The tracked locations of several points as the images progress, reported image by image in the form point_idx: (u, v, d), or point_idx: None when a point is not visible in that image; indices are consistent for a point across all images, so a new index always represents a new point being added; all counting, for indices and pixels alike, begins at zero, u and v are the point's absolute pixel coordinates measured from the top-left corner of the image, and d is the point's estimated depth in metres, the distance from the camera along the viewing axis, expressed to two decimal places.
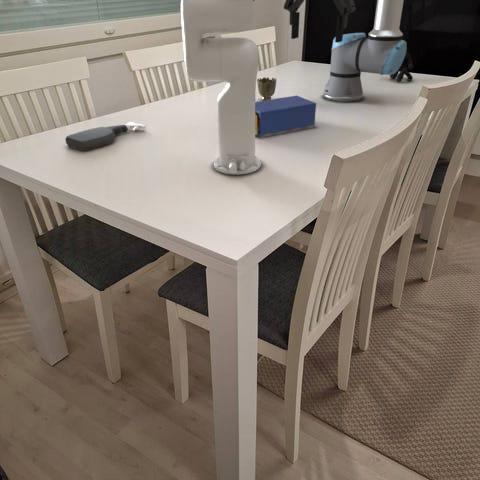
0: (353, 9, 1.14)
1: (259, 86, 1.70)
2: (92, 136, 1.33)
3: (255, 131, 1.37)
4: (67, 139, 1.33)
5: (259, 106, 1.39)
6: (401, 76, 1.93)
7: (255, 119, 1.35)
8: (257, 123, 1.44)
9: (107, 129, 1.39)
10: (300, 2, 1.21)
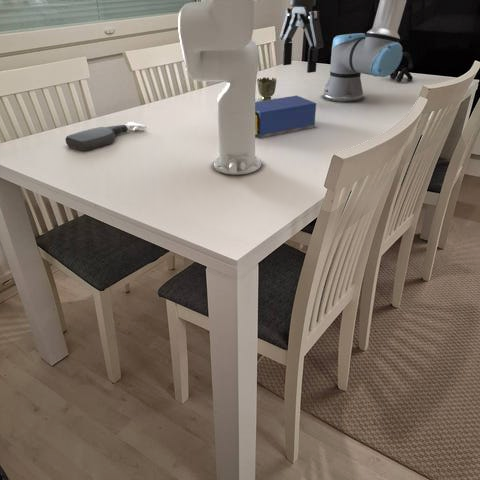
0: None
1: (259, 86, 1.70)
2: (92, 136, 1.33)
3: (255, 131, 1.37)
4: (67, 139, 1.33)
5: (259, 106, 1.39)
6: (401, 76, 1.93)
7: (255, 119, 1.35)
8: (257, 123, 1.44)
9: (107, 129, 1.39)
10: None
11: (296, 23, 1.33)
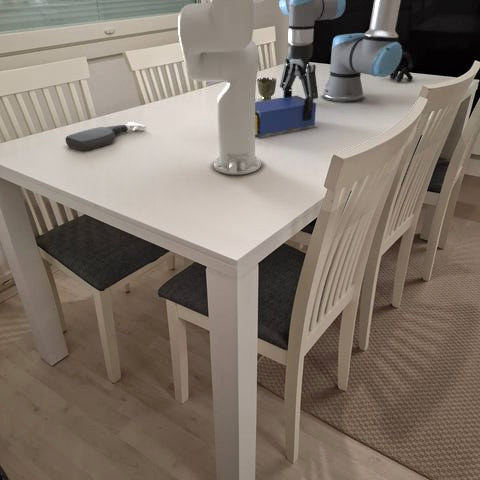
0: None
1: (259, 86, 1.70)
2: (92, 136, 1.33)
3: (255, 131, 1.37)
4: (67, 139, 1.33)
5: (259, 106, 1.39)
6: (401, 76, 1.93)
7: (255, 119, 1.35)
8: (257, 123, 1.44)
9: (107, 129, 1.39)
10: None
11: (294, 72, 1.41)
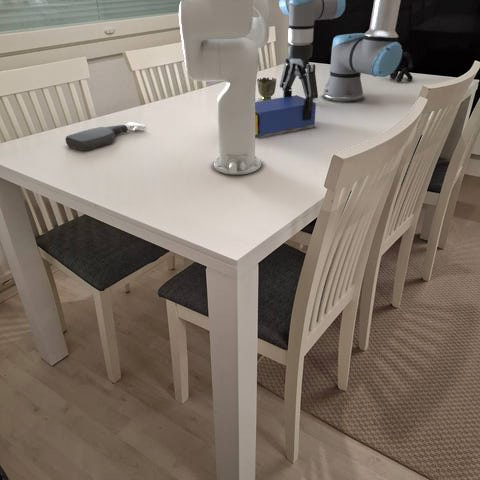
0: None
1: (259, 86, 1.70)
2: (92, 136, 1.33)
3: (255, 131, 1.37)
4: (67, 139, 1.33)
5: (259, 106, 1.39)
6: (401, 76, 1.93)
7: (255, 119, 1.35)
8: (258, 123, 1.44)
9: (107, 129, 1.39)
10: None
11: (294, 72, 1.41)
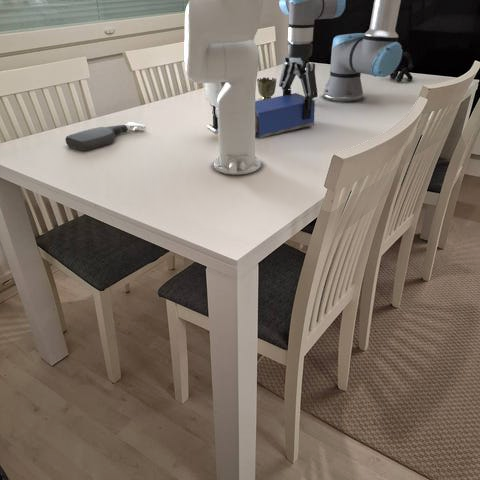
0: None
1: (259, 86, 1.70)
2: (92, 136, 1.33)
3: None
4: (67, 139, 1.33)
5: (257, 106, 1.39)
6: (401, 76, 1.93)
7: None
8: None
9: (107, 129, 1.39)
10: None
11: (293, 71, 1.40)
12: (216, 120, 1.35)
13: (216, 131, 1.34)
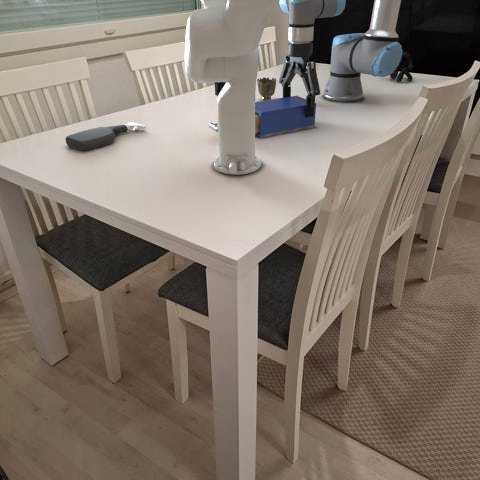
0: None
1: (259, 86, 1.70)
2: (92, 136, 1.33)
3: None
4: (67, 139, 1.33)
5: (259, 106, 1.39)
6: (401, 76, 1.93)
7: None
8: None
9: (107, 129, 1.39)
10: None
11: (294, 71, 1.40)
12: (218, 86, 1.29)
13: None
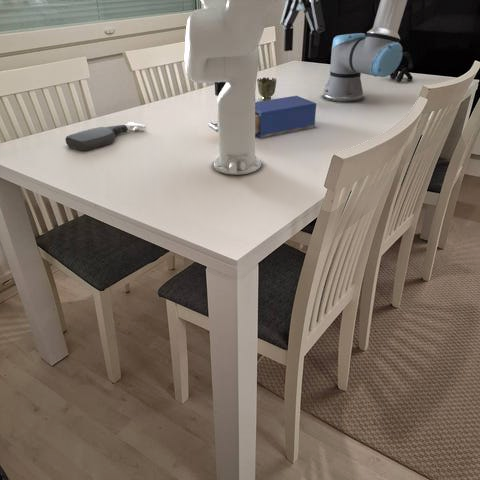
0: None
1: (259, 86, 1.70)
2: (92, 136, 1.33)
3: None
4: (67, 139, 1.33)
5: (259, 106, 1.39)
6: (401, 76, 1.93)
7: None
8: None
9: (107, 129, 1.39)
10: None
11: (297, 7, 1.31)
12: (218, 86, 1.29)
13: None
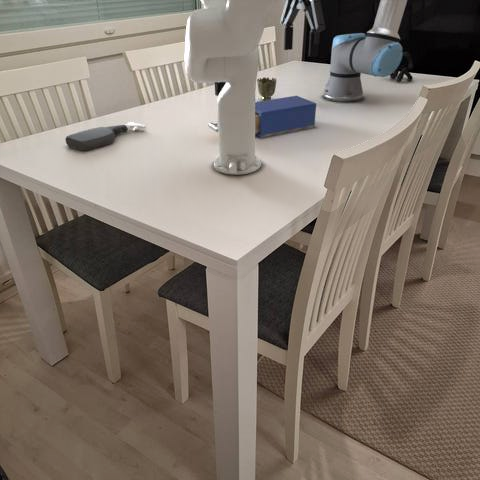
0: None
1: (259, 86, 1.70)
2: (92, 136, 1.33)
3: None
4: (67, 139, 1.33)
5: (259, 106, 1.39)
6: (401, 76, 1.93)
7: None
8: None
9: (107, 129, 1.39)
10: None
11: (297, 6, 1.31)
12: (218, 86, 1.29)
13: None
